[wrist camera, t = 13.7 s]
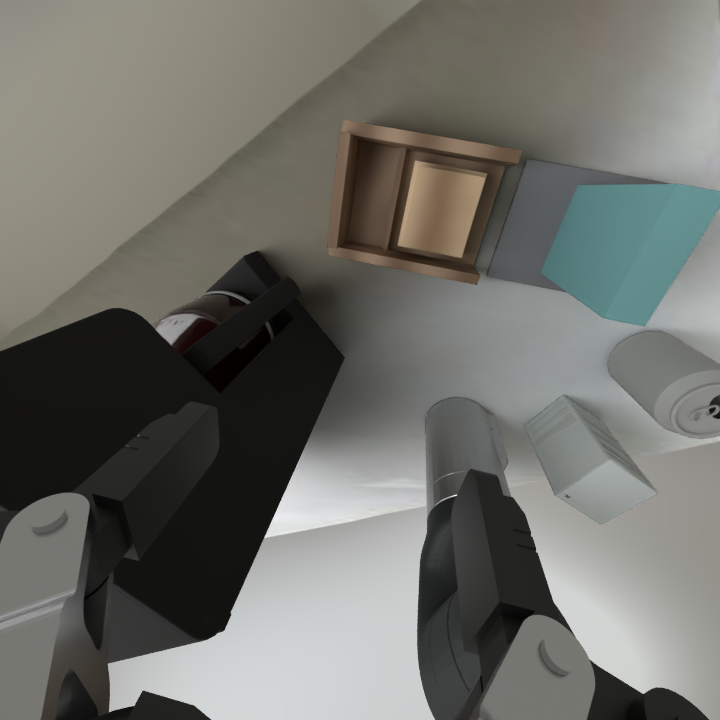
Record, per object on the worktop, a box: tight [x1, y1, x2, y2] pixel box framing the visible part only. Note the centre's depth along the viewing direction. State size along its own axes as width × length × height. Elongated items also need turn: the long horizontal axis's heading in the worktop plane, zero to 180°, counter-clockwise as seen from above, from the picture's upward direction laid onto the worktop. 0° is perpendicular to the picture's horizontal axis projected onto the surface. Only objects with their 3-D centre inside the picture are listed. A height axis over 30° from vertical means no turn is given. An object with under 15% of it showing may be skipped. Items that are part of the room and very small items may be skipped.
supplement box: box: [524, 395, 658, 524], centre depth 42 cm, size 7×7×13 cm
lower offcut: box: [397, 161, 487, 258], centre depth 35 cm, size 7×8×3 cm
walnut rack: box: [327, 120, 522, 285], centre depth 34 cm, size 16×12×7 cm
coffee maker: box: [0, 251, 345, 663], centre depth 34 cm, size 28×20×35 cm
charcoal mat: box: [486, 159, 669, 292], centre depth 36 cm, size 14×12×1 cm
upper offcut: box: [402, 166, 485, 258], centre depth 32 cm, size 6×7×3 cm
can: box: [608, 331, 720, 439], centre depth 36 cm, size 8×8×12 cm
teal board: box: [540, 184, 720, 327], centre depth 29 cm, size 3×9×15 cm, turn 171°
